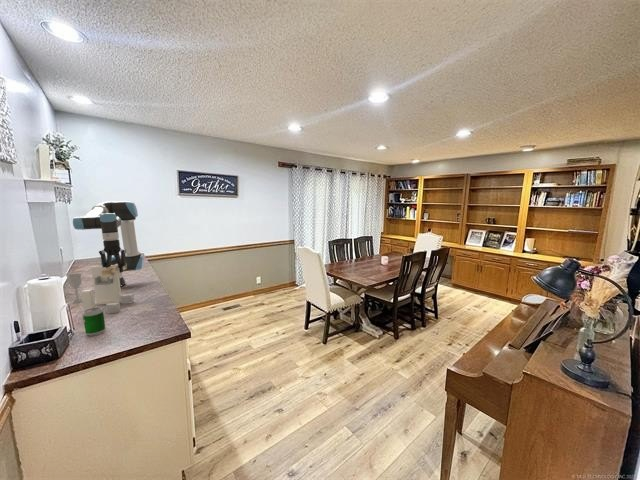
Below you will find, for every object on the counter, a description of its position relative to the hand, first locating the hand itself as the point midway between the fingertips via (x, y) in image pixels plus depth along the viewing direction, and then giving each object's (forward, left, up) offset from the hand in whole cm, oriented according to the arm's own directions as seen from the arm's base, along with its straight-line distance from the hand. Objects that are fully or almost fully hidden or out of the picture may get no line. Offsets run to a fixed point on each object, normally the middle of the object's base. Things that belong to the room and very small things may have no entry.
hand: (116, 277), depth 159 cm
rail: (0, 0, +3) cm, 3 cm away
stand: (0, +1, -18) cm, 18 cm away
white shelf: (-1, -11, -18) cm, 22 cm away
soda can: (+34, +7, -19) cm, 39 cm away
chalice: (-16, -32, -19) cm, 41 cm away
